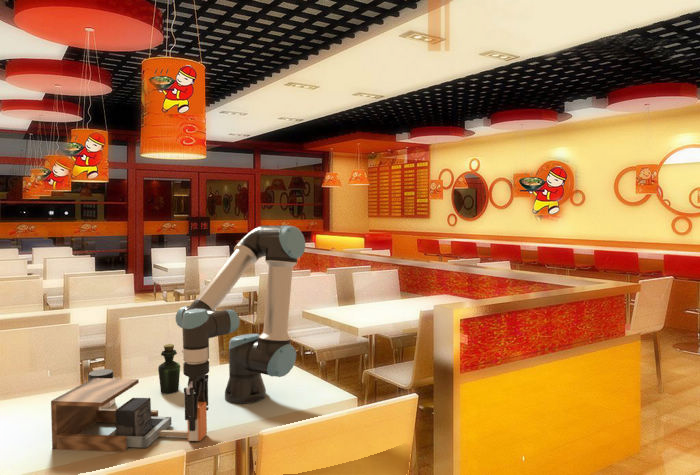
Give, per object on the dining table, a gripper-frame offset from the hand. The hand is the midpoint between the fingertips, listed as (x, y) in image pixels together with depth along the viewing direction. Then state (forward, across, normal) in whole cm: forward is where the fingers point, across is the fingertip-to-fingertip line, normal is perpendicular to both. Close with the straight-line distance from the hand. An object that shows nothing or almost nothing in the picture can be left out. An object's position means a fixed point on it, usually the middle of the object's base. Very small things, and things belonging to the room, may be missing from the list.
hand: (197, 435), depth 155 cm
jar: (+1, -23, -45) cm, 51 cm away
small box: (+1, 0, -20) cm, 20 cm away
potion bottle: (+1, -39, -27) cm, 48 cm away
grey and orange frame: (0, 0, -11) cm, 11 cm away
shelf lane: (+1, 0, -28) cm, 29 cm away
